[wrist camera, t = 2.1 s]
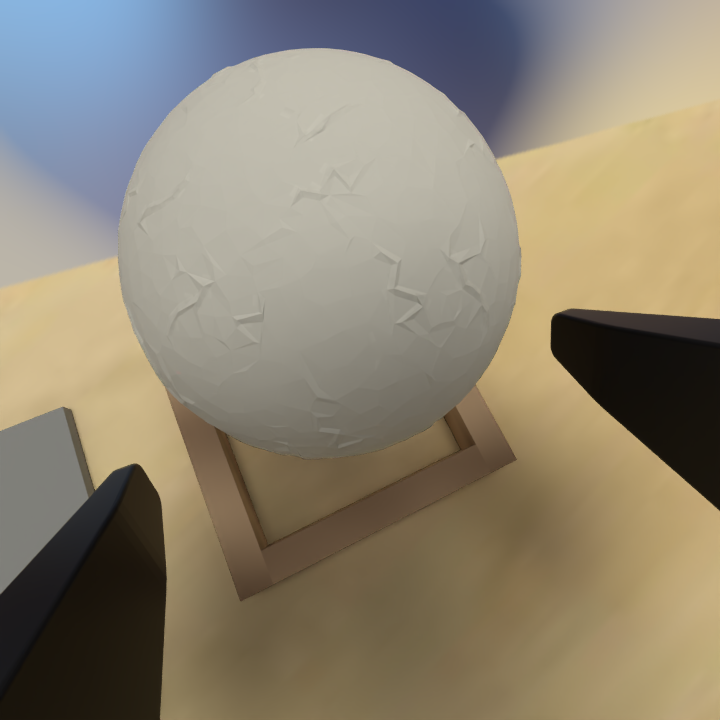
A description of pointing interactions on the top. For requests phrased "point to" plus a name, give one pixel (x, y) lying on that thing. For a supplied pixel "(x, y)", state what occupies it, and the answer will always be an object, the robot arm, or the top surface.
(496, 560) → the top surface
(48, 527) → the mat
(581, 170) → the top surface
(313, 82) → the lollipop
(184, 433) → the brown wooden square frame
